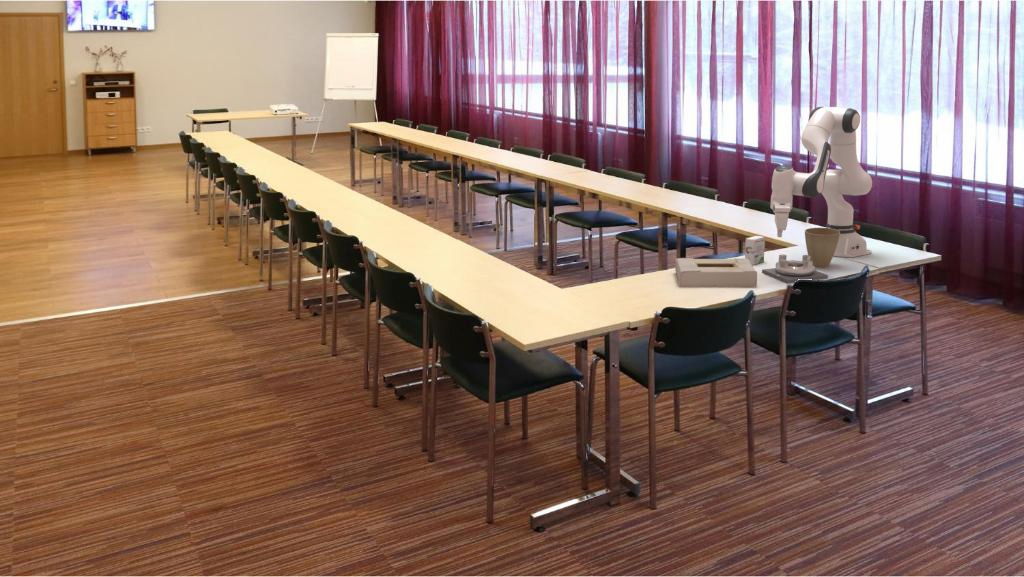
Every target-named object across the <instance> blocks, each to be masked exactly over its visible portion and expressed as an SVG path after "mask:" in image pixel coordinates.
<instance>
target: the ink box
mask: <svg viewBox="0 0 1024 577" xmlns="http://www.w3.org/2000/svg"><path fill="white" fill-rule="evenodd" d="M744 245H745V248H744V249H745V252H744V258H745V259H749V261H750V263H751V264H752V266H755V265H758V264H760V263H761V264H762V263H764V262H765V247H766V237H765V236H761V235H754V236H751V237H746V238H745V244H744Z"/></svg>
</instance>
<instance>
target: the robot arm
mask: <svg viewBox="0 0 1024 577" xmlns="http://www.w3.org/2000/svg"><path fill="white" fill-rule="evenodd" d="M860 122H861V116H860V114H859V112H858V110H857V109H855V108H850V107H840V106H825V107H824V106H818V107H814V109H812V110H811V111H810V113H809V115H808V121H807V124H806V126H805V127H804V129H803V131H802V133H801V138H800V139H801V143H802V145H803V147H804V149H806V150H807V151H808V152H810V153H812V154H813V155H815V156H816V162H815V165H814V167H813V171H811V172H808V173H807V172H798V171H796V170H794V168H793V167H792V165H779V166H776V167H775V168H774V170H773V174H772V177H771V190H772V192H771V196H770V206H769V207H770V209H771V210H772V212H773V213H774V223H775V228H776V231H777V233H776V235H777V237H778V238H782V237H783V233H784V231H786V230H787V228H788V221H789V217H790V216H789V215H790V213H791V211H792V209H793V197H794V196H800V197H805V198H810V199H816V198H817V197H818V196H820V195H821V196H823V198H824V199H825V201H826V205H827V222H826V227H825V228H831V229H836V230H839V231H840V235H839V239H838V243H837V247H836V250H835V253H834V255H833V257H840V258H841V257H843V258H854V257H860V256H866V255H871V254H872V250H871V249H869V248H867V241H866V239H865V238H864V237H863V236H861V235H860V234H859V233H857V231H856V230H860V228H861V225H859V224H854V207H853V205H852V204H850V203H849V202H847V201H846V200H845V199H844V196H843V195H846V196H863V195H867V194H868V193H870V191H871V189H872V188H873V187H872V186H873V179H872V177H871V175H870V174H869V173H868V172H866V171H865V170H864V168H863V167H862V166H861V165H860V162H859V160H858V155H857V133H856V132H857V131H856V130H857V129H858V128H859V126H860ZM829 141H830V143H829ZM830 159H831V161H832V163H834V164H836V165H838V166H839V167H840V169H831V168H829V169H828V166H829V163H830Z"/></svg>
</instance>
